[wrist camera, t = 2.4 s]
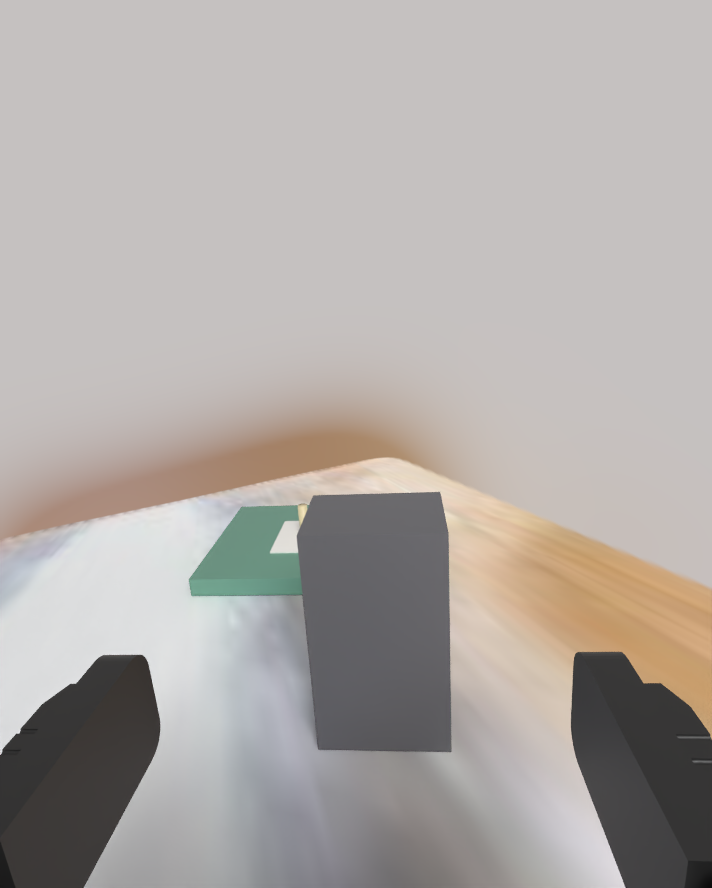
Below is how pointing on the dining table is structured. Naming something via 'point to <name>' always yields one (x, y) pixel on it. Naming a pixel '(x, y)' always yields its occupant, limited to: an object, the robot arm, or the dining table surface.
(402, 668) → the block
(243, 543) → the pin board
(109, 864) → the dining table surface
